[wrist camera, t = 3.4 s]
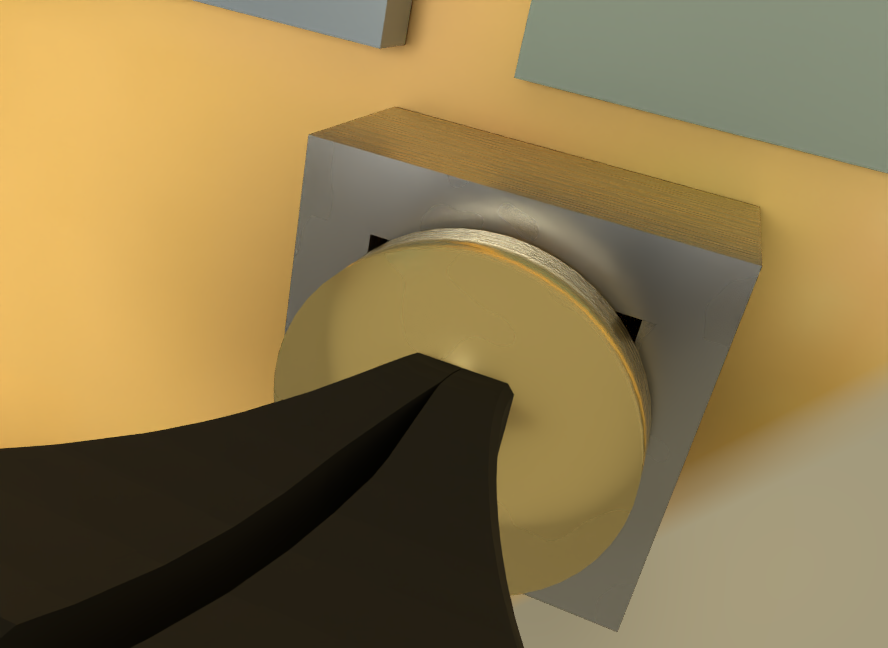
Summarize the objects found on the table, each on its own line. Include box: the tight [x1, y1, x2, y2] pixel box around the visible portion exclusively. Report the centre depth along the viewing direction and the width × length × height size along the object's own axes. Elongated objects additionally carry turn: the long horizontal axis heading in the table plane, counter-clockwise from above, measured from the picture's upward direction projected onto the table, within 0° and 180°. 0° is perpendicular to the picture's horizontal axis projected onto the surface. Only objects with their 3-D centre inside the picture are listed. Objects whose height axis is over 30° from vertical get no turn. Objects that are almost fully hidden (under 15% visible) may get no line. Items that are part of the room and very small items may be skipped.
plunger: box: [274, 228, 651, 595], centre depth 12 cm, size 5×5×4 cm
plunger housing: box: [284, 107, 762, 632], centre depth 13 cm, size 6×6×3 cm
